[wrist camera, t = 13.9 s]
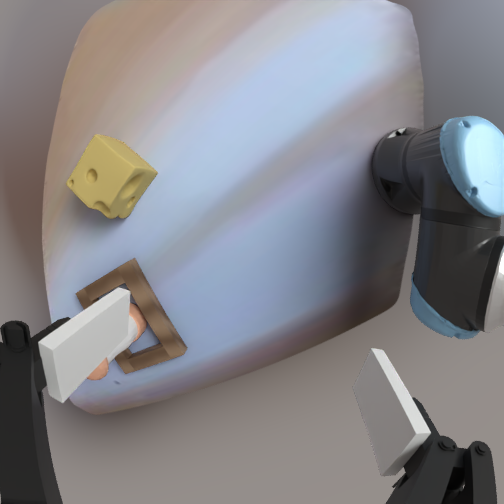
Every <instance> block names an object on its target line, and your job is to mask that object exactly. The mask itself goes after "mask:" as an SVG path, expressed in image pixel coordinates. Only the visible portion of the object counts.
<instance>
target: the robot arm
mask: <svg viewBox="0 0 504 504" xmlns="http://www.w3.org/2000/svg"><path fill="white" fill-rule="evenodd" d="M372 172H373V178H374V182H375V185H376V187H377V189H378V191H379V193H380V195H381V196H382V197H383V199H384V200H385V201H386V202H387V203H388V204H389V205H390V206H391V207H393V208H394V209H396V210H398V211H401V212H404V213H409V214H421V215H420V224H419V234H418V244H417V252H416V260H415V267H414V272H413V273H412V279H411V280H412V290H411V297H410V303H411V306H412V309H413V312H414V314H415V315H416V317H417V318H418V319H419V320H420V321H421V322H422V323H423V324H424V325H426V326H427V327H429V328H430V329H432V330H433V331H435V332H437V333H439V334H442V335H444V336H447V337H451V338H452V337H453V336H455V337H457V338H458V339H469V338H473V337H474V336H476V335H477V334H478V333H479V332H480V331H484V332H486V333H490V332H491V331H493V330H495V329H497V328H498V327H500V326H504V236H500V224H501V216H503V215H504V135H503V134H502V133H501V131H500V130H499V129H498V128H497V127H496V126H494V125H493V124H492V123H491V122H489V121H487V120H485V119H483V118H481V117H477V116H467V117H462V118H453V119H449V120H448V121H447V122H445V123H442V124H439V125H437V126H434V127H431V128H429V129H426V130H420V129H416V128H409V127H408V128H400V129H397V130H395V131H392V132H390V133H389V134H387V135H386V136H384V137H383V138H382V139H381V141H380V142H379V143H378V145H377V147H376V149H375V152H374V155H373V161H372ZM130 292H131V291H128V290H125V289H122V288H119V287H118V288H117V289H115V290H114V291H112V292H111V293H109V294H108V295H106V296H105V297H103V298H101V299H100V300H98V301H97V302H95V303H94V304H92V305H91V306H89V307H88V308H87V309H85V310H84V311H82V312H81V313H79V314H78V315H76V316H75V317H73V318H72V319H71V318H69V317H66V318H63V319H59V320H57V321H56V322H54V323H53V324H51V325H50V326H48V327H47V328H46V329H44V330H42V331H41V332H39V333H38V334H36V335H35V336H33V337H32V338H31V337H30V331H29V326H28V325H27V324H26V323H24V322H22V321H9V322H6V323H5V324H3V325H2V327H1V328H0V329H1V335H2V340H3V343H2V342H0V494H1V504H63V503H62V499H61V496H60V492H59V488H58V484H57V481H56V476H55V473H54V468H53V463H52V458H51V453H50V448H49V442H48V435H47V428H46V420H45V412H44V399H43V393H42V389H43V388H44V387H45V386H47V388H48V392H49V395H50V396H51V397H53V398H55V399H56V400H58V401H60V402H62V403H64V402H65V400H66V399H67V398H68V397H69V396H70V395H71V394H72V393H73V392H74V391H75V390H76V389H77V388H78V387H79V385H80V384H81V383H82V382H83V381H84V380H85V379H86V378H87V377H88V376H89V375H90V374H91V373H92V372H93V371H94V370H95V369H96V368H97V366H98V365H99V364H100V363H101V362H102V361H103V360H104V359H105V358H106V357H107V356H108V355H109V354H110V353H111V352H112V351H113V350H114V349H115V348H116V347H117V346H118V345H119V344H120V343H121V342H122V341H123V340H124V339H125V338H126V337H127V335H128V325H129V306H130ZM353 390H354V393H355V396H356V399H357V402H358V405H359V408H360V411H361V414H362V417H363V420H364V423H365V426H366V429H367V432H368V435H369V439H370V442H371V445H372V448H373V451H374V455H375V458H376V461H377V464H378V468H379V471H380V475H381V476H389V475H390V476H391V475H396V474H397V473H398V472H399V471H400V470H401V469H402V468H403V467H404V469H405V472H406V473H405V474H404V475H403V476H402V477H401V478H400V479H399V480H398V481H397V482H396V483H395V484H394V485H393V486H392V487H393V488H394V487H395V486H396V485H397V486H396V488H395V489H394V491H393V493H392V494H391V496H390V498H389V499H388V501H387V502H386V504H497V495H496V484H495V476H494V467H493V461H492V454H491V451H490V448H489V447H488V446H487V445H486V444H485V443H484V442H481V441H475V442H473V443H472V444H471V445H470V446H469V448H468V449H464V448H457V445H456V443H455V442H454V441H453V440H452V439H450V438H449V437H446V436H440V435H439V433H438V431H437V430H436V428H435V426H434V424H433V423H432V421H431V419H430V418H429V416H428V414H427V413H426V410H425V409H424V407H423V405H422V404H421V403H420V402H419V401H418V400H417V399H416V398H412V397H411V396H410V394H409V392H408V391H407V389H406V387H405V385H404V384H403V382H402V380H401V379H400V377H399V375H398V374H397V372H396V370H395V369H394V367H393V365H392V364H391V362H390V361H389V359H388V358H387V355H386V354H385V352H384V351H383V350H381V349H374V348H371V350H370V352H369V354H368V356H367V359H366V361H365V363H364V365H363V367H362V369H361V372H360V373H359V376H358V378H357V380H356V382H355V384H354V386H353ZM464 484H465V486H464V489H463V485H464Z"/></svg>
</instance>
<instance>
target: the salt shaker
mask: <svg viewBox="0 0 504 504" xmlns="http://www.w3.org/2000/svg"><path fill="white" fill-rule="evenodd" d="M146 327H147V320H146V318H145V317H144V315H143V313H142V312H141V310H140V308H139V307H138V306H137V305H135V304H133V303H130V306H129V325H128V335H127V337H126V338H125V339H124V340H123V341H122V342H121V343H120V344H119V345H118V346H117V347H116V348H115V349H114V350H113V351H112V352H111V353H110V354H109V355H108V356H107V357H106V358H105V359H104V360H103V361H102V362H101V363H100V364H99V365H98V366H97V368H96V369H95V370H94V371H93V372H92V373H91V374H90V375H89V376H88V377H87V379H90V380H100V379H102V378H103V377H105V376H106V374H107V372H108V365H109V363H110V362H111V361H112V360H113V359H114V358H115V357H116V356H117V355H118V354H119V353H121V352H122V351H124V350H125V349H127V348H128V347H129V346H130V345H131V343H132V342H134V341H136V340H137V339H138V338H139V337H140V336H141V335H142V333H143V332H144V331H145V329H146Z"/></svg>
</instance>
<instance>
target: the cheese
mask: <svg viewBox="0 0 504 504" xmlns="http://www.w3.org/2000/svg"><path fill="white" fill-rule="evenodd" d="M157 174H158V172H157V171H156V170H155V169H154V168H152V167H151V166H150V165H149V164H148V163H147V162H146V161H145V160H144V159H142V158H141V157H140V156H139V155H138V154H137V153H135V152H134V151H133V150H132V149H130V148H129V147H128V146H127V145H126V144H125V143H124V142H122V141H119V140H117V139H114V138H111V137H108V136H104V135H97V134H96V135H94V137H93V138H92V140H91V141H90V143H89V144H88V146H87V148H86V150H85V151H84V153H83V155H82V157H81V159H80V160H79V162H78V164H77V166H76V167H75V169H74V171H73V172H72V174H71V176H70V177H69V179H68V180H67V182H66V185H67V186H68V187H69V188H70V189H71V190H72V191H73V192H74V194H75V195H76V196H77V197H78V198H79V199H80V200H81V201H82V202H83V203H84V204H85V205H86V206H87V207H89V208H91V209H96V210H99V211H101V212H102V213H103V214H104V215H105V216H106V217H107V218H109V219H114V218H116V217H117V216H118V217H119V218H126V217H128V216H129V215H130V213H131V212H132V210H133V208H134V207H135V205H136V203H137V202H138V200H139V199H140V197H141V196H142V194H143V193H144V192H145V190H146V189H147V187H148V186H149V185H150V183H151V182H152V181H153V179H154V178H155V177H156V175H157Z"/></svg>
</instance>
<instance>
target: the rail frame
mask: <svg viewBox="0 0 504 504" xmlns="http://www.w3.org/2000/svg"><path fill="white" fill-rule="evenodd" d="M123 283H126V285H127V287H128V289H129V291H131V292H130V293H131V294H132V296H133V298H134V300H135V301H136V303H137V305H138V306H139V308H140V310H141V312H142V313H143V315H144V317H145V318H146V320H147V322H148V323H149V325H150V326H151V328H152V330H153V331H154V333H155V334H156V336H157V338H158V339H159V341H160V342H161V343H159V344H157V345H154V346H152V347H149V348H146V349H144V350H141V351H138V352H136V353H133V354H132V353H131V352H130V350H129V349H128V348H127V349H125V350H124V351H122V352H121V353H119V354H118V355H117V356H116V357H115V360H116V361H117V363H118V364H119V366H120V367H121V368H122V370H123V371H124V373H125V374H127V373H131V372H134V371H137V370H140V369H143V368H146V367H149V366H152V365H155V364H158V363H161V362H164V361H167V360H170V359H173V358H176V357H178V356H181V355H184V354H185V352H186V350H187V347H186V345H185V344H184V342H183V340H182V339H181V337H180V336H179V334H178V332H177V331H176V329H175V328H174V326H173V324H172V323H171V321H170V319H169V318H168V316H167V315H166V313H165V311H164V309H163V308H162V306H161V304H160V303H159V301H158V299H157V297H156V296H155V294H154V292H153V290H152V289H151V287H150V285H149V283H148V281H147V280H146V278H145V276H144V274H143V272H142V270H141V269H140V267H139V265H138V263H137V261H136V259H135V258H134V259H132V260H130V261H128V262H126V263H125V264H123V265H121V266H120V267H118V268H116V269H115V270H113V271H111V272H110V273H108V274H106V275H105V276H103V277H101V278H100V279H98V280H96V281H95V282H93V283H91V284H90V285H88V286H87V287H85V288H83V289H82V290H80V291H79V292H77V293H75V294H76V295H77V297H78V299H79V301H80V303H81V305H82V306H83V308H84V310H85V309H87V308H88V307H89V306H91V305H92V304H94V303H95V302H97V301H98V300H99V299H98V297H100V296H102V295H103V294H105V293H107V292H109V291H110V290H112V289H114V288H116V287H118V286H119V285H121V284H123Z"/></svg>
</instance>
